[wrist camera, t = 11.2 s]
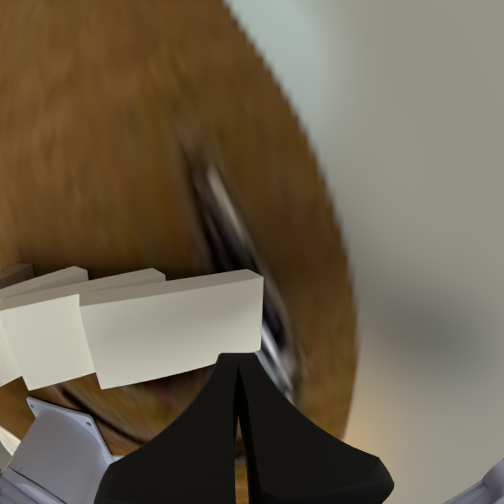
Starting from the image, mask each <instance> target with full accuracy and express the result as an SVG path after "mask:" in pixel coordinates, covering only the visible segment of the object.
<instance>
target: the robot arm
mask: <svg viewBox="0 0 504 504" xmlns="http://www.w3.org/2000/svg"><path fill="white" fill-rule="evenodd" d="M26 400H27V402H28V404H29V406H30V408H31V410H32V412H33V414H34V415H35V417H36V419H35V421H34V422H33V424H32V425H31V427H30V429H29V430H28V432H27V433H26V435H25V436H24V438H23V439H22V441H21V443H20V444H19V446H18V448H17V449H16V451H15V452H14V454H13V456H12V458H11V459H10V461H9V463H8V464H7V466H6V468H4V469H3V470H2V471H1V469H0V504H236V496H235V470H234V467H235V449H236V437H237V424H238V415H239V422H240V428H241V435H242V441H243V447H244V453H245V458H246V466H247V480H248V496H249V504H382V503H383V502H384V501H385V500H386V499H387V497H388V496H389V495H390V494H391V492H392V490H393V489H394V482H393V480H392V477H391V476H390V473H389V472H388V470H387V468H386V467H385V466H384V464H383V463H382V461H381V460H380V458H379V457H376V456H374V455H371V454H369V453H366V452H364V451H361V450H359V449H357V448H354V447H352V446H350V445H348V444H346V443H344V442H342V441H340V440H338V439H337V438H335V437H333V436H332V435H330V434H329V433H327V432H326V431H324V430H323V429H321V428H320V427H318V426H317V425H315V424H314V423H313V422H312V421H310V420H309V419H308V418H307V417H305V416H304V415H303V414H302V413H301V412H300V411H299V410H298V409H296V408H295V407H294V406H293V405H292V404H291V403H290V401H289V400H288V399H287V398H286V397H285V396H284V395H283V394H282V393H281V391H280V390H279V389H278V388H277V386H276V385H275V384H274V382H273V381H272V380H271V378H270V377H269V376H268V374H267V373H266V371H265V369H264V368H263V366H262V365H261V363H260V361H259V359H258V357H257V355H256V354H255V353H220V354H219V355H218V358H217V361H216V363H215V365H214V367H213V369H212V371H211V373H210V375H209V377H208V378H207V380H206V381H205V383H204V385H203V386H202V388H201V389H200V391H199V392H198V393H197V395H196V396H195V397H194V399H193V400H192V401H191V403H190V404H189V405H188V406H187V407H186V409H185V410H184V411H183V412H182V413H181V414H180V415H179V416H178V417H177V418H176V419H175V420H174V421H173V422H172V423H171V424H170V425H169V426H168V427H167V428H165V429H164V430H163V431H162V432H161V433H159V434H158V435H157V436H155V437H154V438H153V439H151V440H150V441H149V442H147V443H146V444H144V445H143V446H141V447H140V448H138V449H137V450H135V451H133V452H132V453H130V454H128V455H126V456H124V457H122V458H121V459H119V460H117V461H115V460H114V459H113V457H112V455H111V453H110V452H109V450H108V448H107V446H106V444H105V442H104V440H103V438H102V436H101V434H100V432H99V430H98V428H97V426H96V424H95V422H94V420H93V418H92V417H91V416H90V415H88V414H85V413H81V412H77V411H73V410H70V409H66V408H63V407H59V406H56V405H53V404H50V403H47V402H44V401H41V400H38V399H35V398H32V397H27V399H26ZM443 504H504V458H503V459H502V460H501V461H500V462H498V463H497V464H496V465H495V466H494V467H492V469H490V470H489V471H488V472H487V474H486V475H485V476H484V477H483V479H482V480H480V481H479V482H477V483H476V484H474V485H473V486H471V487H470V488H468V489H467V490H465V491H463V492H462V493H460V494H458V495H457V496H455V497H453V498H452V499H450V500H448V501H446V502H445V503H443Z"/></svg>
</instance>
